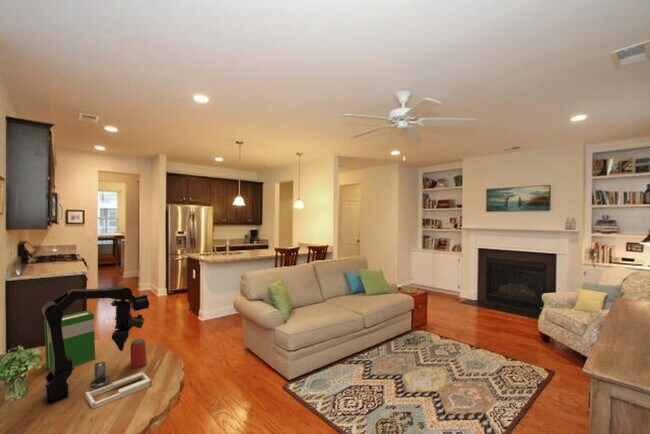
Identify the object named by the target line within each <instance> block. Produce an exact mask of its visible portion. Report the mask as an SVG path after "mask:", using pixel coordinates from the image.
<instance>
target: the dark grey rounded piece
mask: <svg viewBox="0 0 650 434" xmlns="http://www.w3.org/2000/svg"><path fill="white" fill-rule="evenodd" d="M93 367H94V369H93V370H94V379H93V380H92V381H91V382H90V387H91V389H100V388H102V387H105V386H108V385H110V384H111V383H110V382H111V379H110V377H107V374H106V373H107V371H106V370H107V369H106V362H105V361H99V362H96V363H95V364H94V366H93Z"/></svg>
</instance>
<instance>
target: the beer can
mask: <svg viewBox="0 0 650 434" xmlns="http://www.w3.org/2000/svg"><path fill="white" fill-rule="evenodd" d="M129 352H130V367H131V368H134V369H137V368H142V367H144V366H145V365H146V364H147V343H146V341H145V339H144V338H138V339H133V340H132V341H131V344H130V351H129Z"/></svg>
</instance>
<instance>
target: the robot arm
mask: <svg viewBox="0 0 650 434" xmlns="http://www.w3.org/2000/svg"><path fill="white" fill-rule="evenodd" d="M92 299H93V300H94V299H112V300H113V301H112V302H110V305H111V306H112V307H115V317H114V320H115V327H114V329H115V330H114V331H113V332H112V334H111V340H113V342H114V343H115V345H116V347H117V349H118V350H119V351H120V352H123V351H124V348H125V347H124V346H125V344H126V343H127V340H128V339H129V336H130V330H131V329H132V328H138V329H142V327H143V324H144V323H145V318H144V317H143V314H140V313H139V314H138V315H137V316H133V315H132V313H131V310H133V311H134V312H137V311H142V310H148V309H149V308H150V302H149V298H148V295H147V294H141V295H137V296H135V295H133V291H132V289H131V288H130V287H129V286H126V285H123V284H122V285H117V286H112V287H108V288H81V289H80V288H78V289H77V288H71V289H69V290H68V291H66V292H65V293H63V294H61V295H60V296H58V297H56V298H55V299H53V300H52V301H48V302H46V303H45V304H44V305H43V306H42V307H41V311H42V312H41V313H42V314H43V316H44V320H46V321H47V323H48V325H49V332H50V338H51V345H52V351H53V362H52V371H51V372H50V371H49V373H47V374H46V376H45V377H44V379H45V382H46V384H45V385H44V386H45V387H44V388H45V389H44V390H45V397H44V399H45V402H46V404H47V405H50V404H54V403H57V402H59V401H62V400H64V399H67V398H68V397H69V395H68V394H69V384H68V382H67V380H68V379H69V378H70V376H71V375H72V373H73V371H74V369H75V368H74V367H72V359H71V357H70V356H67V357H66V354H65V347H64V341H63V334H62V327H61V322H62V318H63V316H64V313H63V312H65V310H67V309H68V308H69V307H70V306H72V304H73V303H74V302H76V301H77V300H92Z"/></svg>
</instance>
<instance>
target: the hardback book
mask: <svg viewBox="0 0 650 434" xmlns="http://www.w3.org/2000/svg"><path fill="white" fill-rule="evenodd" d="M43 322H44V341H45V342H44V345H45V347H44V348H45V368H46V370H49V373H50V372H51V371H52V362H53V351H52V345H51V338H50V332H49V325H48V323H47V321H46V319H44V320H43ZM61 327H62V334H63V341H64V347H65V354H66V357H67V356H70V357H71V359H72V367H73V368H74V367H77V366H81V365H83V364H86V363H89V362H92V361H95V360H96V348H95V347H96V345H95V344H96V343H95V342H96V340H95V337H96V336H95V314H94V312H92V311H91V310H84V311H79V312H75V313H71V314H66V315H63V318H62V322H61Z"/></svg>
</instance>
